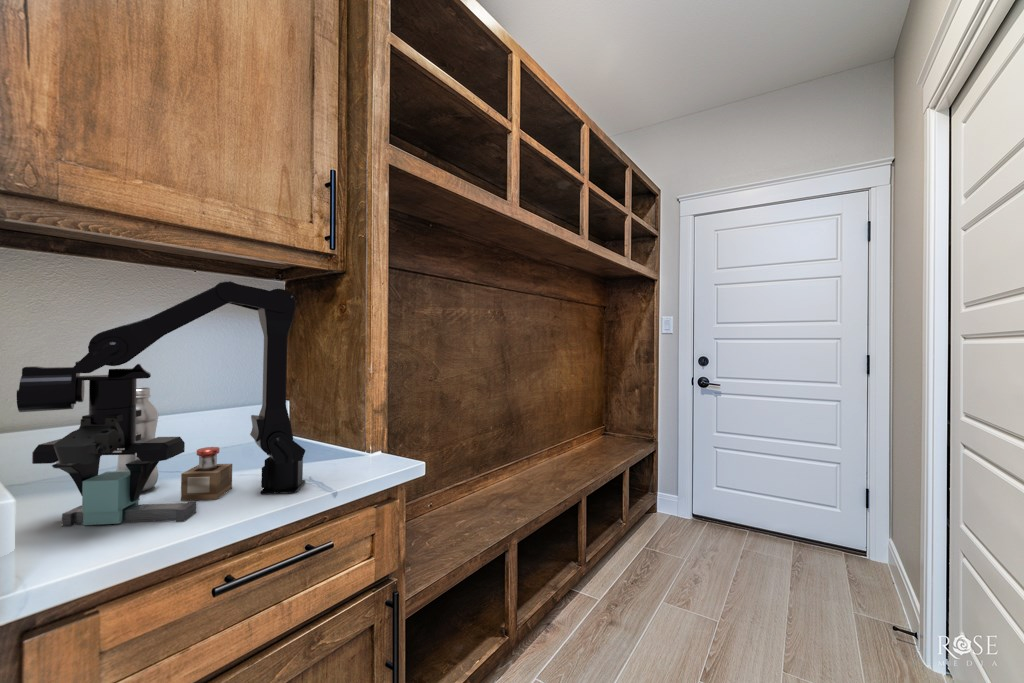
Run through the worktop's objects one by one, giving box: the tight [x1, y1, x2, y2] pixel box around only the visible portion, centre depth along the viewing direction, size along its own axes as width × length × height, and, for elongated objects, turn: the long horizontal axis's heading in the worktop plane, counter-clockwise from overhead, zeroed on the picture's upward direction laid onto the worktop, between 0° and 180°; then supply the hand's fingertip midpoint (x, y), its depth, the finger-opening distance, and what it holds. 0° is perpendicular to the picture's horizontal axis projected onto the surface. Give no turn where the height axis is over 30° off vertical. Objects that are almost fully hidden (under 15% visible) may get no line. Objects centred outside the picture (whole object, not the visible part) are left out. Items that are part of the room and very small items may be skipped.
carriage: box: [81, 470, 141, 526], centre depth 72 cm, size 5×5×7 cm
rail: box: [61, 500, 197, 528], centre depth 72 cm, size 17×4×2 cm, turn 99°
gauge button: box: [196, 446, 220, 471], centre depth 84 cm, size 4×4×6 cm
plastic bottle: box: [115, 386, 159, 492], centre depth 85 cm, size 6×7×20 cm
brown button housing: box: [180, 463, 233, 502], centre depth 84 cm, size 6×6×5 cm
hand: (111, 501), depth 72 cm, fingers open, 6 cm apart
